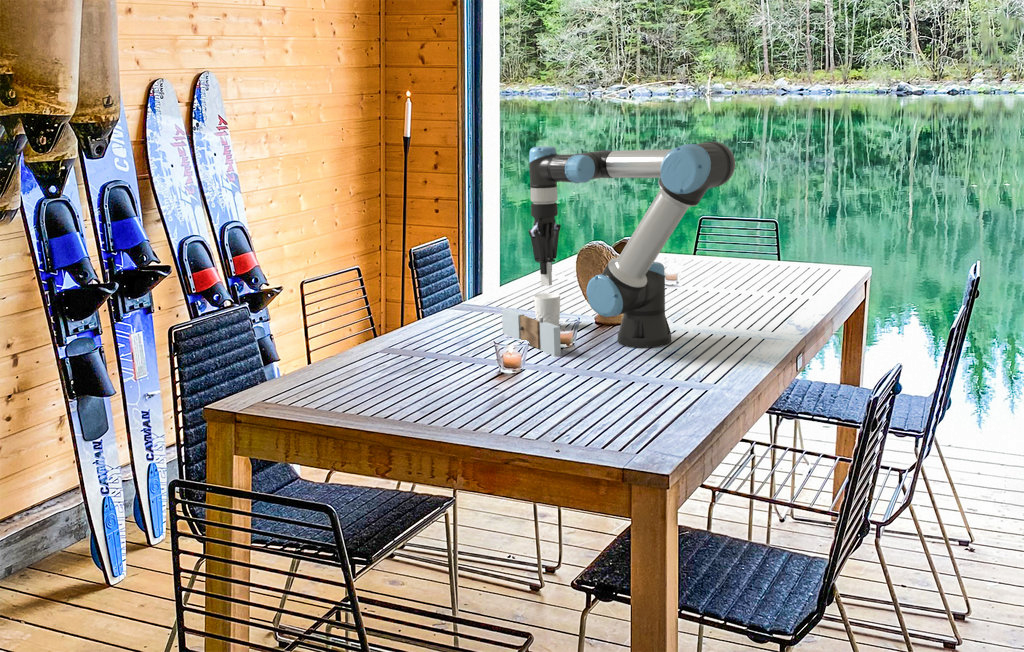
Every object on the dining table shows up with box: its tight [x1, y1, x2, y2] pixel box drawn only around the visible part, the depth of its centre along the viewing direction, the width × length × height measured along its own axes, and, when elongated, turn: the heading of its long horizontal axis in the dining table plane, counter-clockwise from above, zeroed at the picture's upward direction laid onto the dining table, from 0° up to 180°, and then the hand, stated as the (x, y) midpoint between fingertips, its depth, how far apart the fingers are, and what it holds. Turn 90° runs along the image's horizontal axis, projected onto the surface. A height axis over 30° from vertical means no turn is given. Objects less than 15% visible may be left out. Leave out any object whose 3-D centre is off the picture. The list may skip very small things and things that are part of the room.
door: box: [519, 315, 540, 349], centre depth 314 cm, size 10×2×8 cm, turn 28°
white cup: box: [533, 292, 561, 327], centre depth 335 cm, size 8×8×10 cm
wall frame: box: [501, 308, 562, 357], centre depth 314 cm, size 30×2×9 cm, turn 28°
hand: (546, 284), depth 317 cm, fingers closed
